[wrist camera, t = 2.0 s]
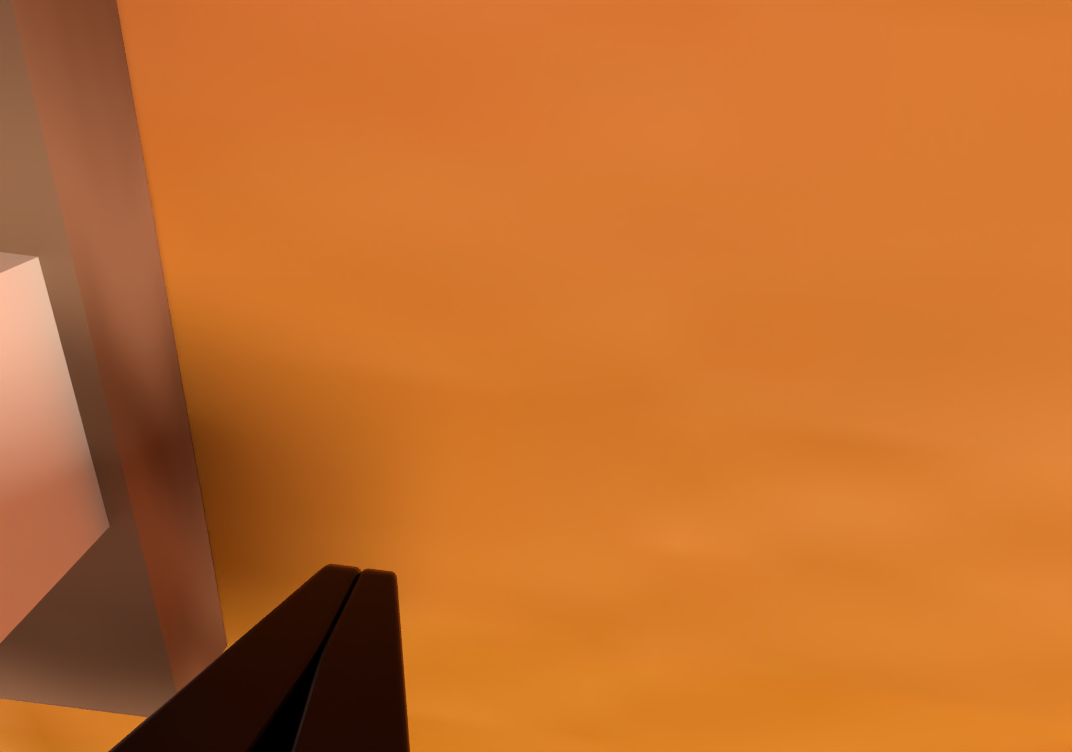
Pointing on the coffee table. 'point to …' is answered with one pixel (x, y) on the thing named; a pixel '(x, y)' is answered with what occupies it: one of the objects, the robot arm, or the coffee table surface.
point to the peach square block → (38, 449)
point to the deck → (104, 372)
